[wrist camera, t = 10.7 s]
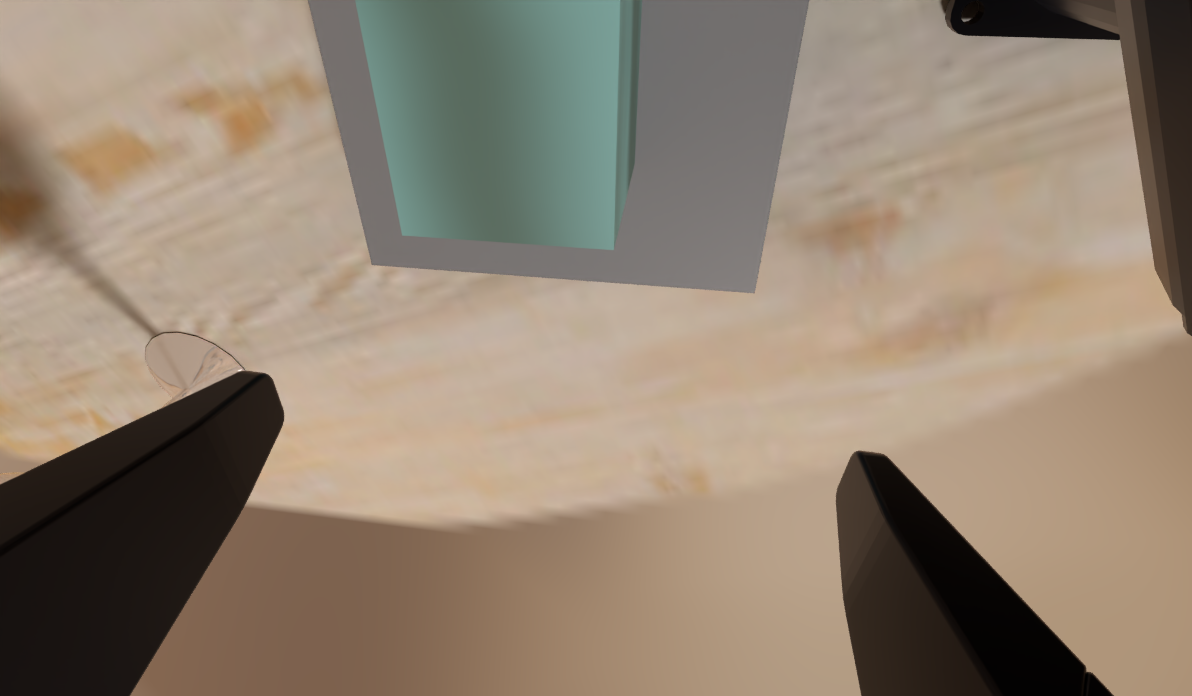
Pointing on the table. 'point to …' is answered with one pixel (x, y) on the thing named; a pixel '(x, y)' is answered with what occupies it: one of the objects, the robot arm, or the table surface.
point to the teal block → (507, 115)
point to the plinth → (662, 154)
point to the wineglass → (181, 367)
